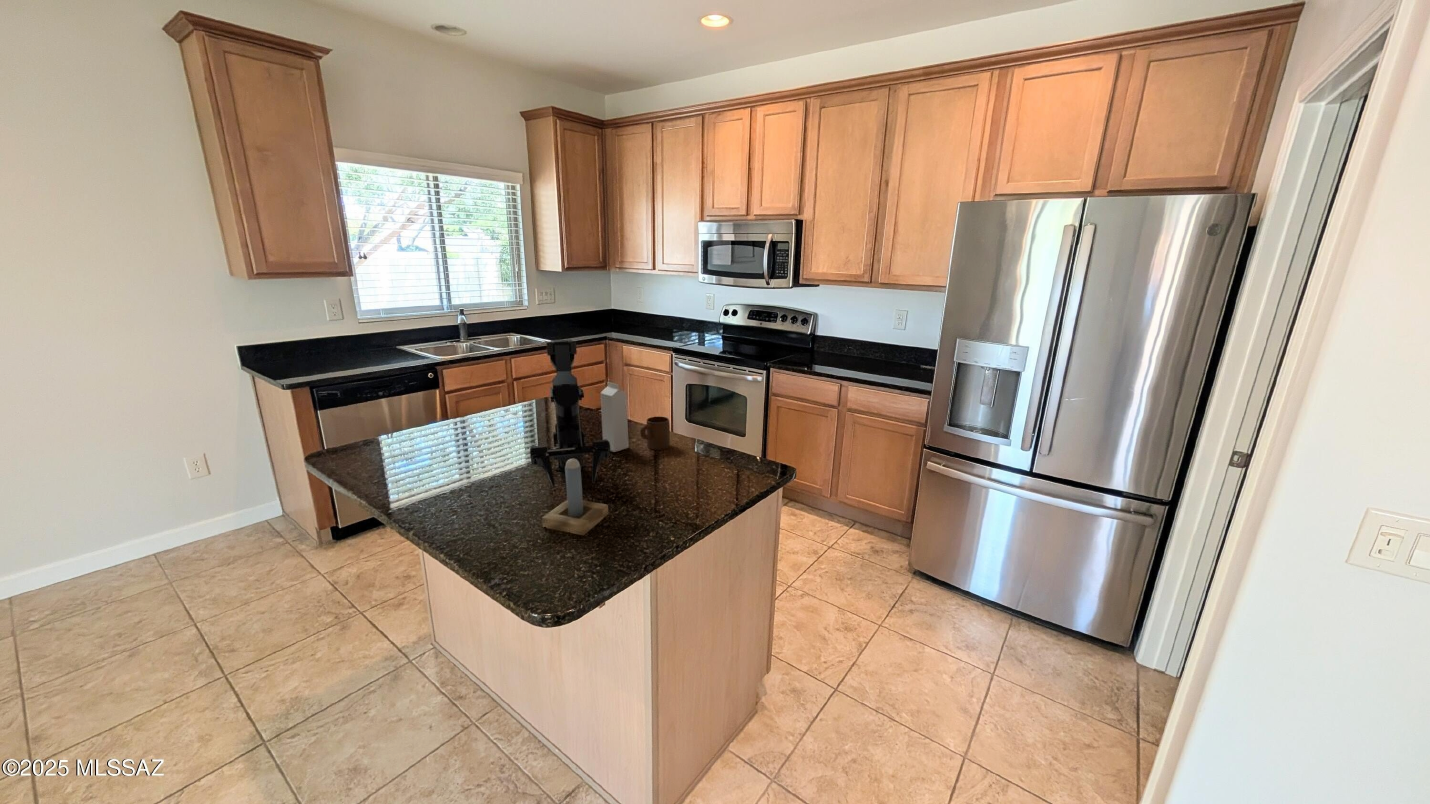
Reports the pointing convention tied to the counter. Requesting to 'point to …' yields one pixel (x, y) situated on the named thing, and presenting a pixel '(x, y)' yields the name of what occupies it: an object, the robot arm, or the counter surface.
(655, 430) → the mug
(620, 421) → the milk
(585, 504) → the wooden square frame
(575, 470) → the blue-grey cylinder
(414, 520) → the counter surface
